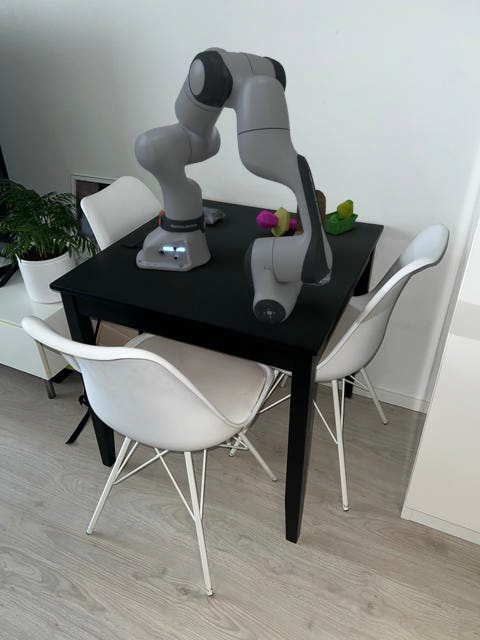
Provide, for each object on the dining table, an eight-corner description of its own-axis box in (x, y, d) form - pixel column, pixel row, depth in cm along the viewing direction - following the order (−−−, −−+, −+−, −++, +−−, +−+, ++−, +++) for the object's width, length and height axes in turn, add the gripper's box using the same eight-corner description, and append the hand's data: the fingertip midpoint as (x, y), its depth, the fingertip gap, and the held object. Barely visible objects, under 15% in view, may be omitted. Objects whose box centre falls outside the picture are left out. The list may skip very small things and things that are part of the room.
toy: (310, 241, 167) (314, 210, 166) (261, 233, 160) (265, 200, 159) (295, 242, 176) (299, 212, 175) (248, 234, 169) (252, 203, 168)
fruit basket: (340, 222, 178) (343, 191, 172) (360, 230, 172) (364, 197, 166) (318, 230, 172) (320, 198, 166) (337, 238, 167) (340, 205, 160)
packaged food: (213, 229, 175) (212, 215, 172) (184, 223, 180) (183, 209, 177) (226, 221, 181) (225, 207, 179) (198, 215, 186) (197, 202, 184)
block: (323, 263, 151) (329, 198, 141) (298, 264, 151) (302, 199, 140) (316, 248, 160) (320, 185, 150) (292, 249, 160) (295, 186, 149)
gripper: (329, 272, 116) (337, 248, 127) (243, 262, 121) (258, 240, 132) (327, 296, 120) (335, 270, 131) (244, 286, 125) (258, 262, 136)
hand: (295, 255), depth 132 cm, fingers open, 8 cm apart
